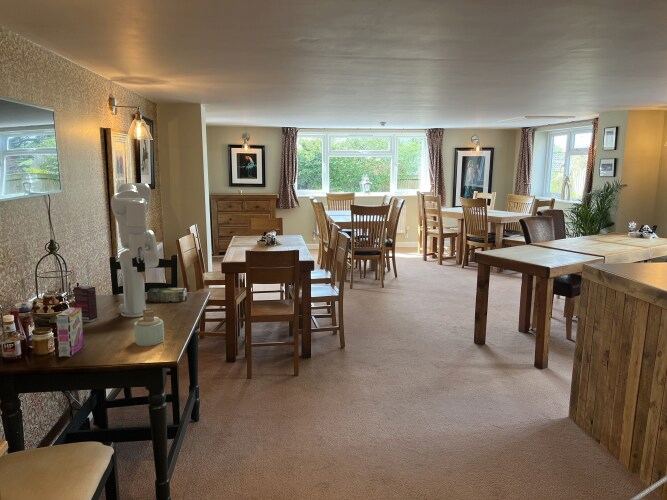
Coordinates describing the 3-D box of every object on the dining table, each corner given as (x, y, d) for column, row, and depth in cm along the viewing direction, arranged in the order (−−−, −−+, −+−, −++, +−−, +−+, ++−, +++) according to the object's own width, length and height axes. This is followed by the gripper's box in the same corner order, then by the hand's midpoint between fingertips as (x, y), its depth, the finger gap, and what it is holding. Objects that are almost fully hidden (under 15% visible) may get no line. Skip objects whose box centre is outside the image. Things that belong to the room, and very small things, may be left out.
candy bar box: (72, 357, 181) (68, 315, 178) (58, 357, 181) (54, 315, 178) (85, 346, 192) (81, 306, 189) (71, 346, 192) (68, 306, 189)
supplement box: (98, 319, 226) (95, 286, 223) (90, 322, 221) (87, 289, 219) (83, 317, 229) (81, 285, 226) (75, 320, 224) (72, 287, 222)
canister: (129, 344, 195) (128, 325, 194) (146, 335, 206) (145, 317, 204) (153, 347, 192) (152, 327, 191) (169, 337, 203) (168, 319, 202)
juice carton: (188, 296, 268) (188, 286, 267) (186, 301, 259) (185, 290, 258) (150, 298, 265) (150, 287, 264) (147, 303, 255) (146, 292, 254)
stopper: (136, 328, 199) (135, 309, 198) (157, 325, 204) (156, 306, 202) (140, 334, 192) (139, 314, 191) (162, 330, 197) (161, 311, 195)
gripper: (123, 227, 207) (125, 265, 211) (131, 233, 193) (133, 275, 197) (141, 226, 211) (143, 263, 215) (150, 232, 197) (152, 273, 201)
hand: (138, 269), depth 206 cm, fingers open, 9 cm apart
